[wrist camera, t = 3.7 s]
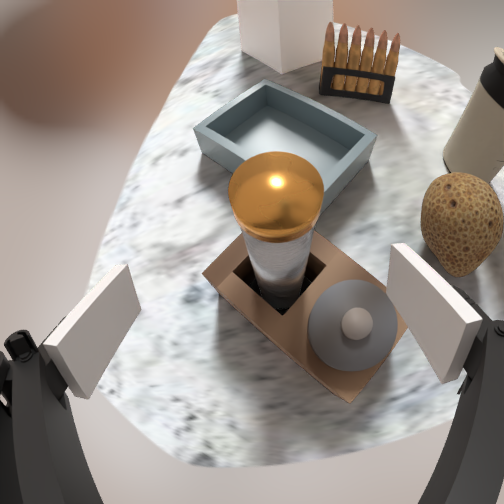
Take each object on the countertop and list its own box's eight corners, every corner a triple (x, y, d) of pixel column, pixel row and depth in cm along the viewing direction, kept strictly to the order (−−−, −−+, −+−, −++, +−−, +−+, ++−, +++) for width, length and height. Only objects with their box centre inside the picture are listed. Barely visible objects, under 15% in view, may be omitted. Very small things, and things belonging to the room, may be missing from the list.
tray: (368, 160, 30) (377, 135, 26) (308, 228, 28) (312, 205, 24) (267, 103, 36) (264, 78, 32) (201, 152, 33) (192, 128, 29)
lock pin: (309, 287, 26) (342, 183, 11) (282, 319, 25) (281, 249, 10) (278, 262, 27) (271, 138, 12) (250, 291, 26) (209, 192, 11)
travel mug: (432, 146, 31) (479, 39, 14) (467, 143, 31) (514, 52, 14) (461, 195, 28) (534, 91, 11) (495, 187, 27) (560, 100, 11)
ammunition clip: (319, 94, 36) (323, 23, 25) (318, 87, 36) (322, 18, 25) (389, 103, 34) (407, 37, 23) (387, 96, 35) (402, 32, 24)
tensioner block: (389, 324, 23) (429, 307, 16) (334, 394, 22) (357, 407, 14) (276, 233, 28) (273, 186, 21) (218, 293, 26) (193, 264, 19)
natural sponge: (440, 195, 28) (478, 141, 19) (481, 257, 24) (533, 217, 15) (388, 225, 27) (425, 165, 18) (433, 298, 24) (492, 263, 15)
